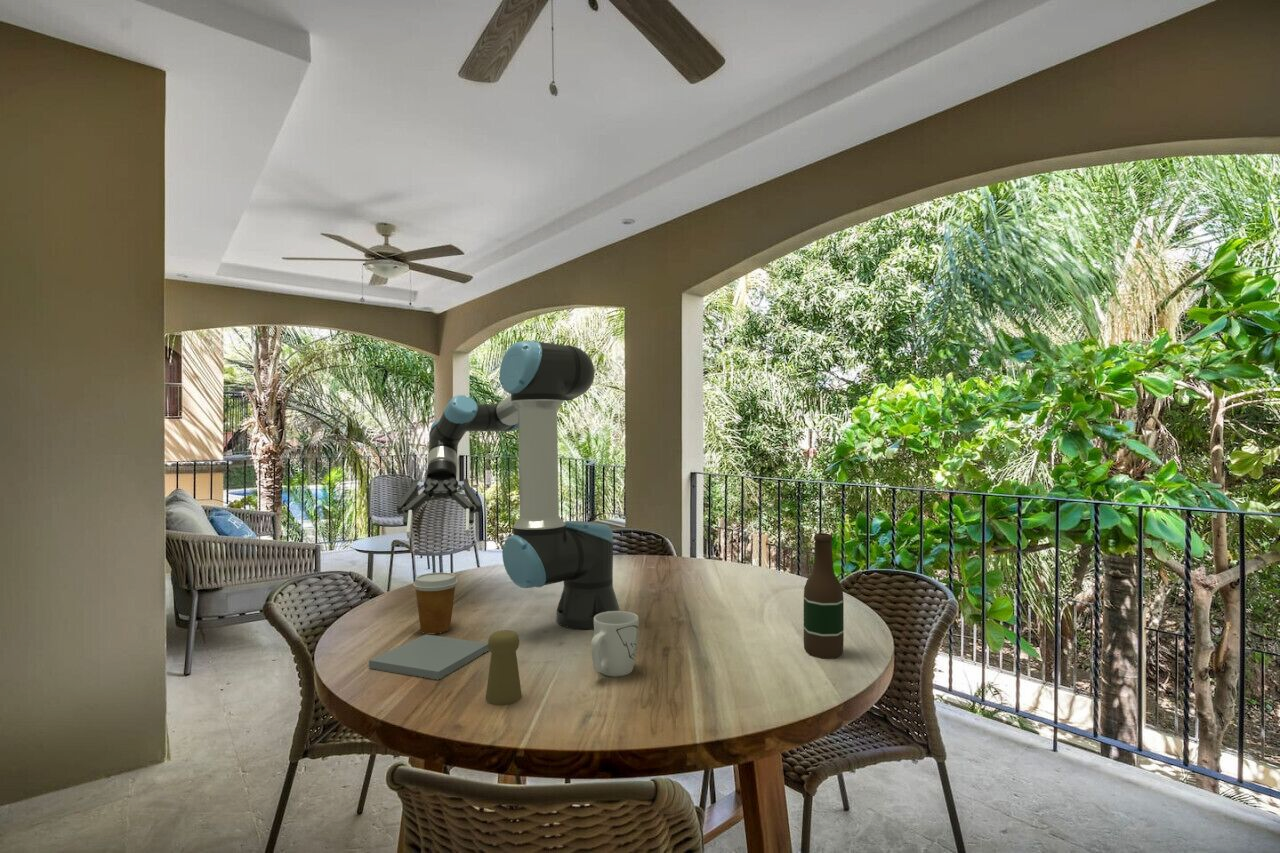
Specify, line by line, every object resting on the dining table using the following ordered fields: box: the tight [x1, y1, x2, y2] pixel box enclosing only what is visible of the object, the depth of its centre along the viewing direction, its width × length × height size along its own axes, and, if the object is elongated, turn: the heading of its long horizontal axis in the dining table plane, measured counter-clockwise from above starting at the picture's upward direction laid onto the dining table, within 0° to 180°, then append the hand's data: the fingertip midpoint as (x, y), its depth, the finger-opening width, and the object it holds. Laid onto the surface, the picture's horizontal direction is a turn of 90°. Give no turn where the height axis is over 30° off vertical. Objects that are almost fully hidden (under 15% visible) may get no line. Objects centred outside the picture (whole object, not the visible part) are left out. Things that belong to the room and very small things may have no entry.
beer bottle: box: [803, 532, 845, 659], centre depth 128 cm, size 8×8×24 cm
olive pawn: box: [485, 629, 523, 706], centre depth 107 cm, size 6×6×11 cm
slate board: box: [368, 634, 490, 681], centre depth 124 cm, size 16×16×2 cm
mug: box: [590, 610, 640, 678], centre depth 117 cm, size 11×8×10 cm
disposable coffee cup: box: [412, 572, 458, 634], centre depth 142 cm, size 10×10×12 cm
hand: (438, 534), depth 153 cm, fingers open, 13 cm apart
